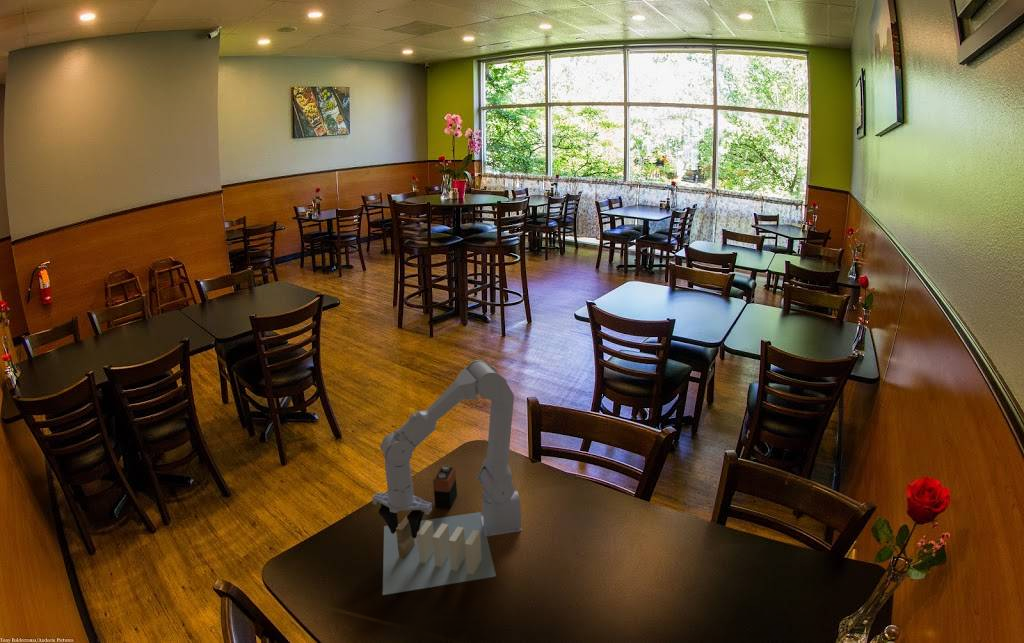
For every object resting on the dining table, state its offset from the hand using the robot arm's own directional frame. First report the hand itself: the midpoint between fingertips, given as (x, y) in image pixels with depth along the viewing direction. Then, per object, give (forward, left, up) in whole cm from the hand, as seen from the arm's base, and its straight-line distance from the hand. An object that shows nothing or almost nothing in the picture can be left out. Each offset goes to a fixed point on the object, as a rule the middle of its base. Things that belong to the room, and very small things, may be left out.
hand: (405, 533), depth 139 cm
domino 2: (-8, +5, -5) cm, 11 cm away
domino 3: (-12, +7, -5) cm, 14 cm away
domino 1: (-5, +3, -5) cm, 8 cm away
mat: (-7, +1, -6) cm, 9 cm away
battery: (-11, -18, -6) cm, 22 cm away
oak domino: (0, 0, -5) cm, 5 cm away
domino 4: (-15, +9, -5) cm, 18 cm away
